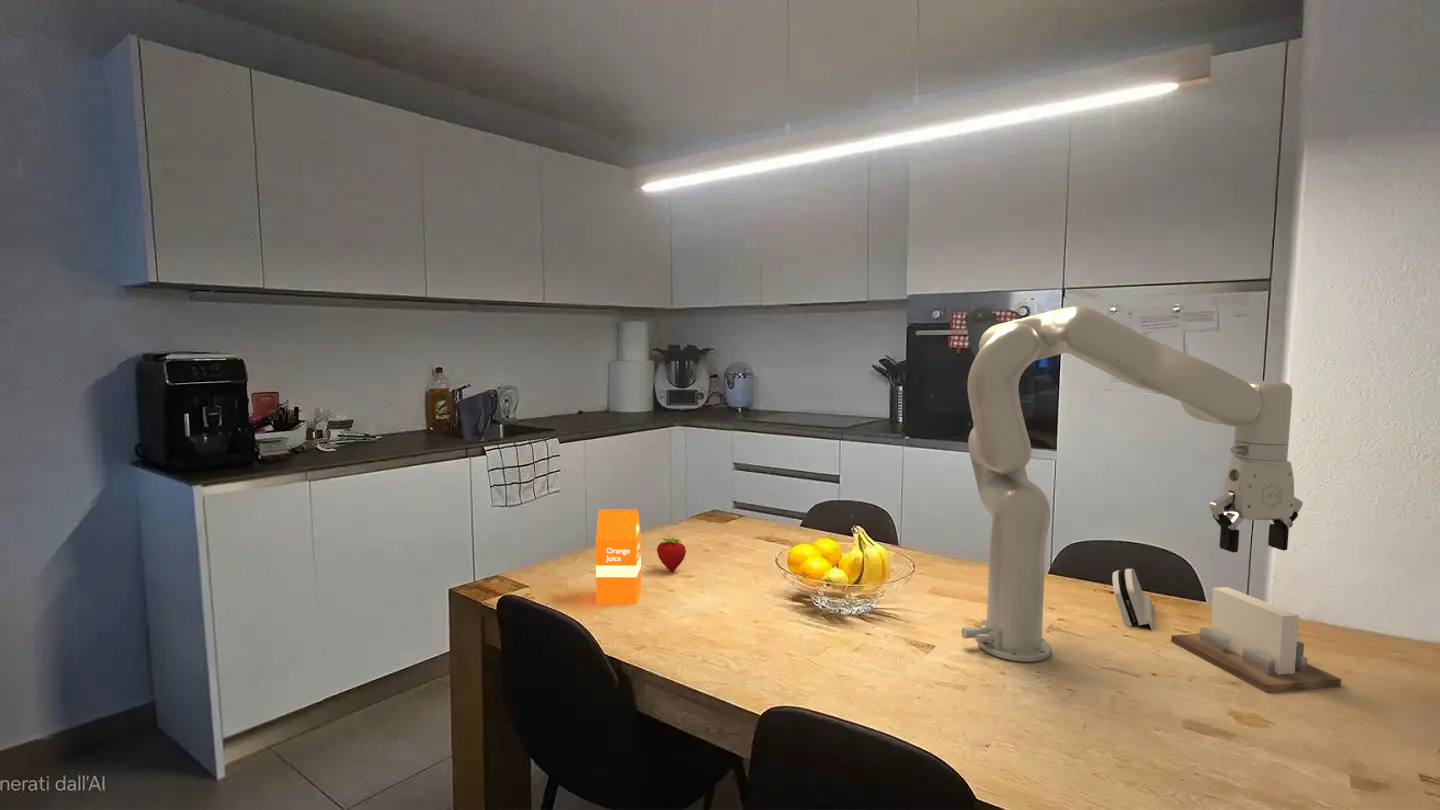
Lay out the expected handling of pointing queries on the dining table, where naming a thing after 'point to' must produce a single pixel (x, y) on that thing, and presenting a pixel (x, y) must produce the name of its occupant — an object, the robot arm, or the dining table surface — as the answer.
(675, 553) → the strawberry
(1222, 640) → the wooden assembly fixture
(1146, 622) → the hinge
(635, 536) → the orange juice
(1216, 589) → the door panel
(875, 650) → the dining table surface
